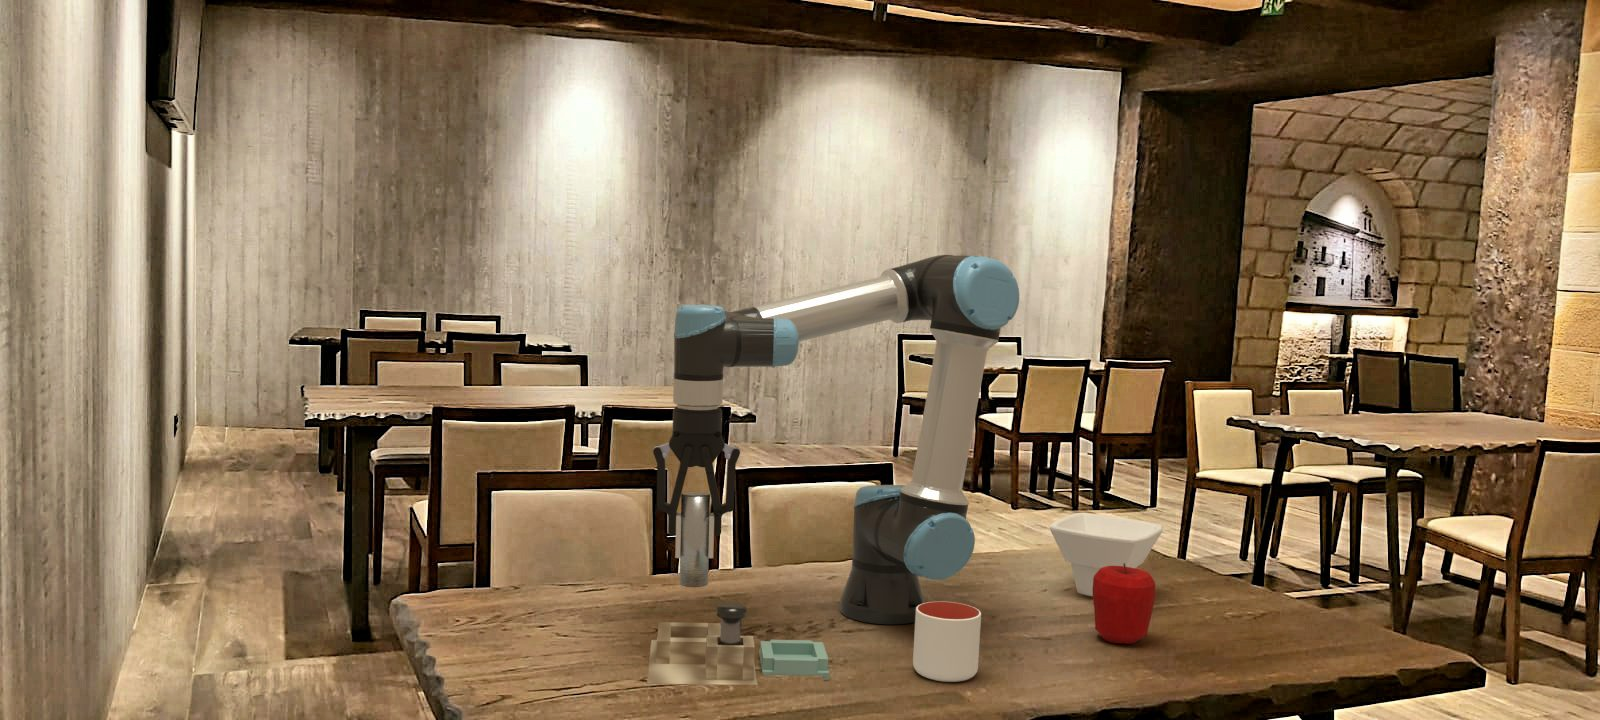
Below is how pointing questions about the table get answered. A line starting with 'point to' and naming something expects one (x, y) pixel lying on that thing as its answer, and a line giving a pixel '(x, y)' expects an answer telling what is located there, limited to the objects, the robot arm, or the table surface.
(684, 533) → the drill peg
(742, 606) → the black mushroom head peg
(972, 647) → the cup
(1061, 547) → the bowl
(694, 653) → the socket block
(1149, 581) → the apple
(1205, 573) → the table surface
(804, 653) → the tray
